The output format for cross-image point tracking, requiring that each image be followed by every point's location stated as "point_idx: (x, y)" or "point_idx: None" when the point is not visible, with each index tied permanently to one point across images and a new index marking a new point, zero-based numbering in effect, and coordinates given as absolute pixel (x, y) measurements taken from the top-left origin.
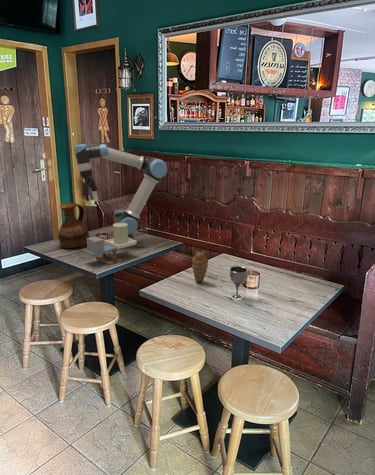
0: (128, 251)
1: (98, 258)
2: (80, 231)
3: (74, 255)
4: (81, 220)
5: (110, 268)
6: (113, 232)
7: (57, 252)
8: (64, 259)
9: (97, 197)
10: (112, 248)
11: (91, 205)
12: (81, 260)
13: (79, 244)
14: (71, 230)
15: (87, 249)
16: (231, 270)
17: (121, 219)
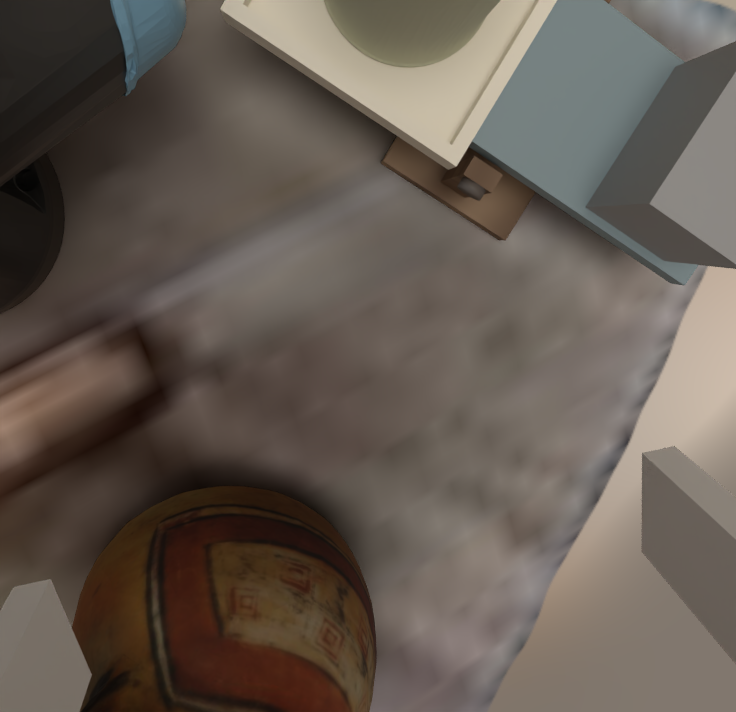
0: (224, 21)
1: (528, 200)
2: (281, 575)
3: (468, 451)
4: (114, 704)
5: (678, 7)
6: (493, 5)
7: (440, 610)
8: (569, 473)
9: (1, 668)
10: (589, 8)
11: (675, 450)
12: (560, 336)
13: (315, 512)
14: (348, 654)
15: (665, 259)
16: None
17: (60, 4)
